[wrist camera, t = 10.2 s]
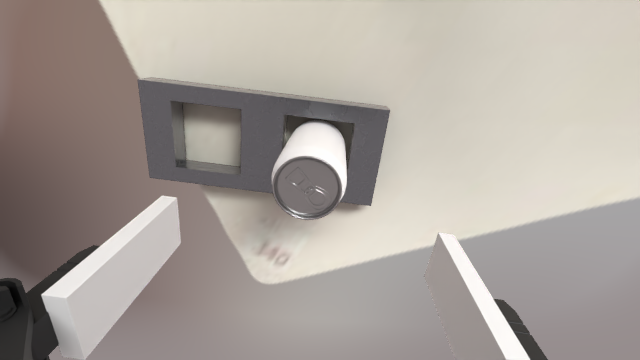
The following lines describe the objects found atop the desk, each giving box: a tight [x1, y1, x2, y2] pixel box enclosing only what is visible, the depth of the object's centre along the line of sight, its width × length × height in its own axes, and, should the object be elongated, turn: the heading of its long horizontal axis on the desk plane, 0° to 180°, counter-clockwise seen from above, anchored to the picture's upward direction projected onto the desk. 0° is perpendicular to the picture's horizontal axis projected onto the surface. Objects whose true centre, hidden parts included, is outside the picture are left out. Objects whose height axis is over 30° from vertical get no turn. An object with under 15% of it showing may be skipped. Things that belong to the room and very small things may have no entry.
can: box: [272, 120, 347, 220], centre depth 29 cm, size 6×6×12 cm
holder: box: [138, 78, 390, 206], centre depth 34 cm, size 11×26×2 cm, turn 84°
